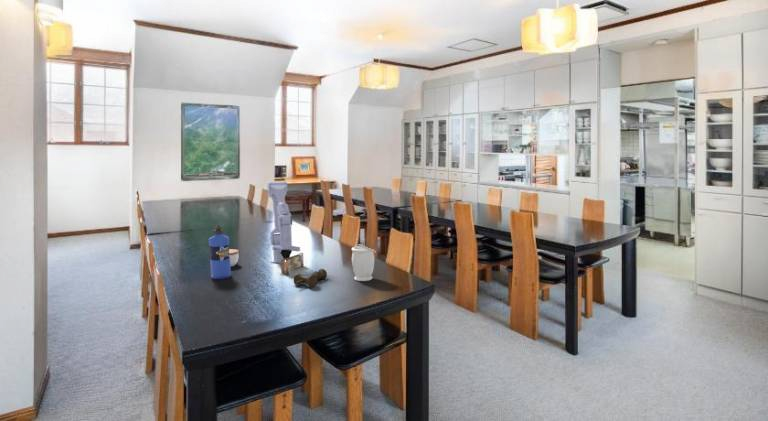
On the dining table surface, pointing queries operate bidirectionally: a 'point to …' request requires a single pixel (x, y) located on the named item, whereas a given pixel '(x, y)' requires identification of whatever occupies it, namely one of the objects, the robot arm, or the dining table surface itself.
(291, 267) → the tan flat block
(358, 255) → the jar
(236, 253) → the lidded jar
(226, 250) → the water bottle
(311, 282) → the dog chew
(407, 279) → the dining table surface
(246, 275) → the dining table surface
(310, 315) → the dining table surface
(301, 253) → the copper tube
